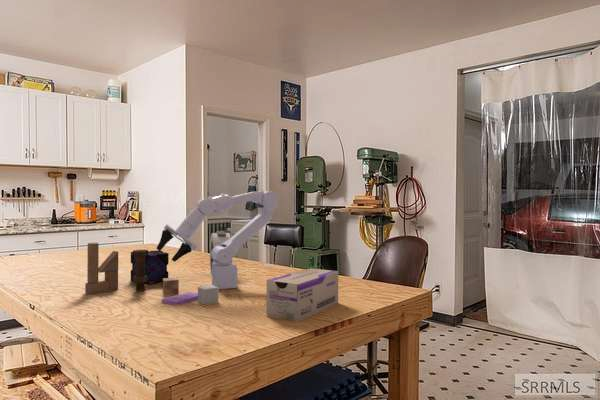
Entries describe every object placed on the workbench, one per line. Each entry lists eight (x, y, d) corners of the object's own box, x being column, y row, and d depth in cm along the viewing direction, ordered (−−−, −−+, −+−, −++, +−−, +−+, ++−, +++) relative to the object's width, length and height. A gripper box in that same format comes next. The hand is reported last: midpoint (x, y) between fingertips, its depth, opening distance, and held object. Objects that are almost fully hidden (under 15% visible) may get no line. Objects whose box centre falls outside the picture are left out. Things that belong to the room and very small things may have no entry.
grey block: (211, 299, 141) (211, 285, 141) (218, 302, 137) (218, 287, 137) (197, 302, 138) (197, 286, 138) (204, 305, 134) (204, 289, 134)
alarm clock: (209, 271, 194) (209, 229, 194) (225, 271, 196) (226, 229, 196) (214, 280, 174) (214, 233, 174) (232, 279, 176) (232, 232, 176)
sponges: (161, 304, 136) (161, 298, 136) (190, 296, 147) (190, 291, 147) (176, 307, 133) (176, 301, 133) (204, 298, 144) (204, 293, 144)
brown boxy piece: (176, 290, 154) (177, 277, 154) (178, 293, 149) (178, 279, 149) (162, 292, 152) (162, 278, 152) (164, 295, 147) (164, 280, 147)
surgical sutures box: (310, 299, 142) (310, 268, 142) (338, 303, 136) (338, 271, 136) (266, 316, 121) (266, 280, 121) (297, 322, 115) (297, 284, 115)
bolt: (142, 292, 150) (142, 251, 150) (129, 292, 151) (129, 251, 151) (150, 289, 156) (151, 249, 156) (138, 288, 157) (138, 249, 157)
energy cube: (168, 282, 169) (168, 253, 169) (137, 286, 162) (137, 255, 162) (160, 278, 179) (160, 250, 179) (130, 281, 172) (130, 252, 172)
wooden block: (118, 289, 156) (118, 241, 156) (90, 294, 147) (90, 243, 147) (113, 288, 158) (113, 240, 158) (84, 293, 150) (85, 243, 149)
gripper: (171, 211, 153) (146, 241, 149) (200, 232, 149) (175, 263, 145) (178, 218, 160) (154, 247, 156) (206, 238, 155) (183, 268, 151)
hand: (165, 255), depth 151 cm, fingers open, 7 cm apart
